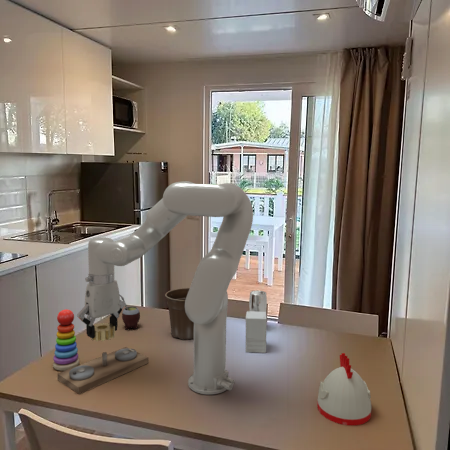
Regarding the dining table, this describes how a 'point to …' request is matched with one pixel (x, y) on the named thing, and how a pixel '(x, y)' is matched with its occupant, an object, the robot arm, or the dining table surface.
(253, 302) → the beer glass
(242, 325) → the dining table surface
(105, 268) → the robot arm
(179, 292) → the plant pot
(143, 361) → the gear board
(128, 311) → the mate gourd
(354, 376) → the kitchen timer
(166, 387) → the dining table surface
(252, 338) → the supplement box
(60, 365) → the stacking toy
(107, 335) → the brass gear
